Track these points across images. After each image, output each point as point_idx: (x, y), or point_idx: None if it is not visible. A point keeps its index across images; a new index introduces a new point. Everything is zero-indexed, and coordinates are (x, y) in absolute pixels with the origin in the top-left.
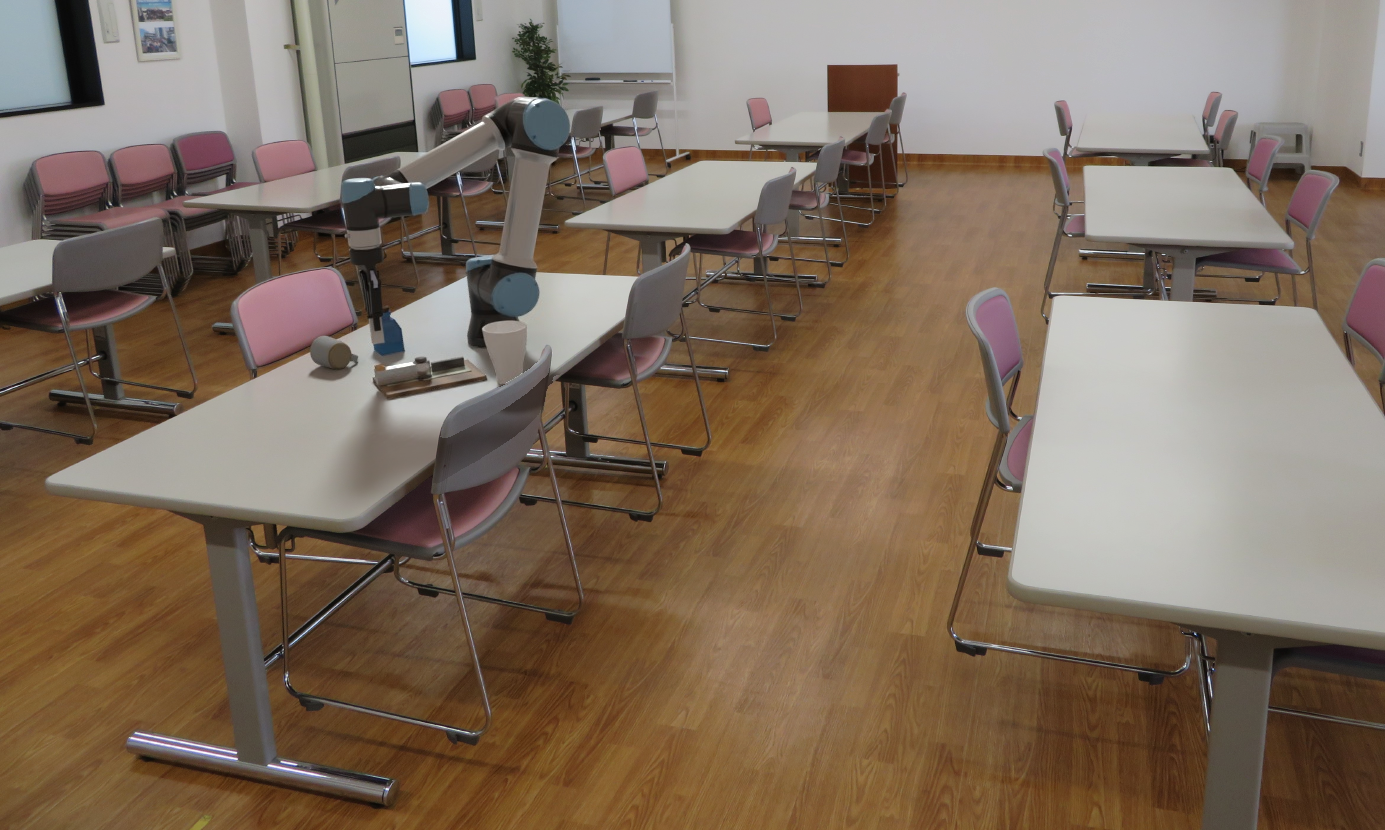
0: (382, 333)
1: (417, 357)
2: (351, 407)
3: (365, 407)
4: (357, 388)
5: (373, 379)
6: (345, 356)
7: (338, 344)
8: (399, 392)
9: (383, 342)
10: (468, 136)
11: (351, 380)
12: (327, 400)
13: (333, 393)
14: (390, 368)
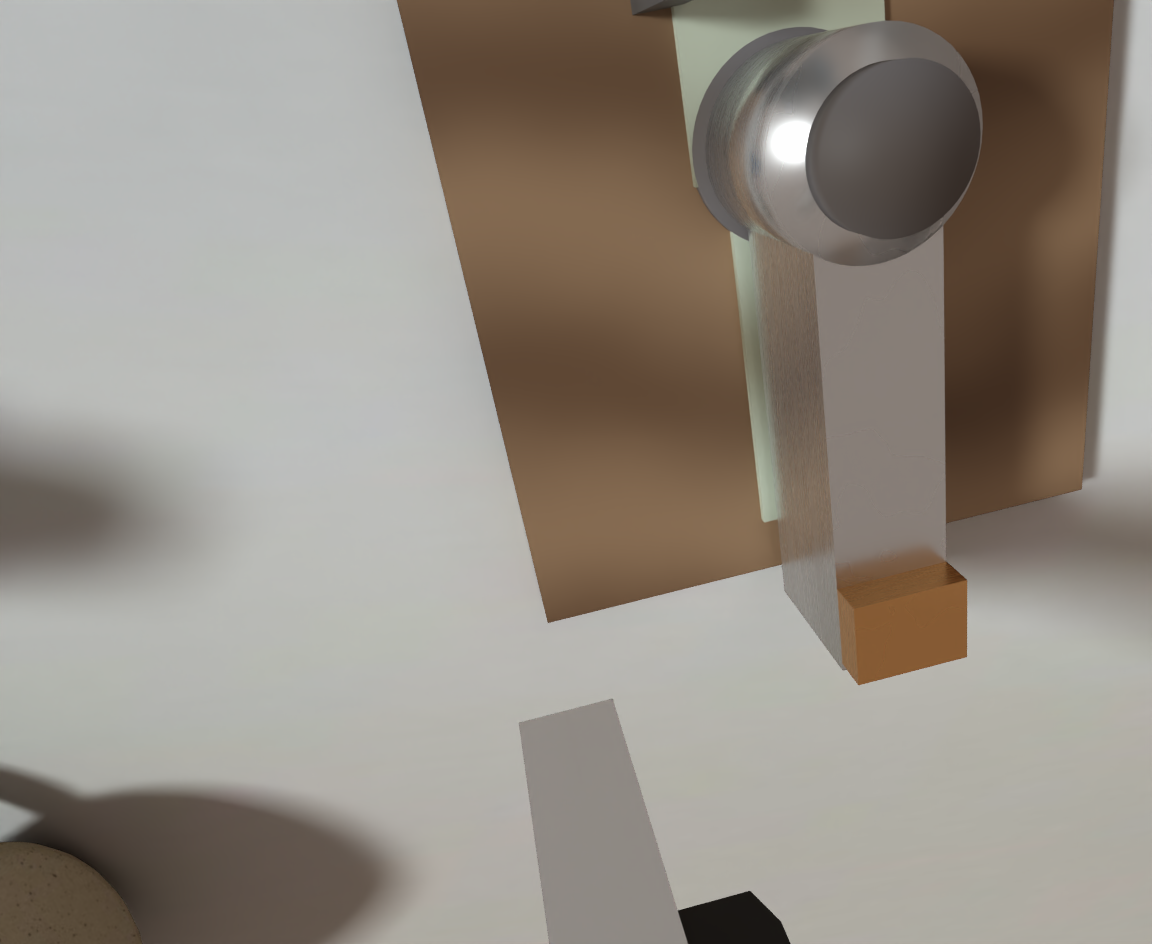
0: (649, 820)
1: (837, 195)
2: (1067, 701)
3: (1127, 617)
4: (677, 700)
5: (573, 608)
6: (12, 921)
7: None
8: (1085, 392)
9: (615, 713)
10: None
11: (447, 759)
12: (838, 849)
13: (710, 835)
14: (923, 517)
